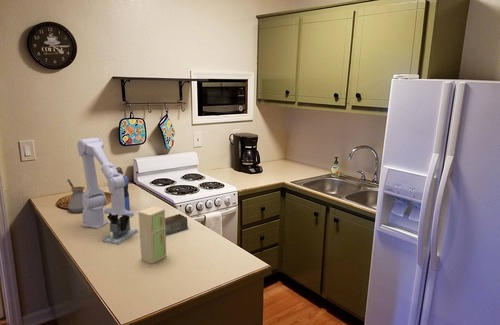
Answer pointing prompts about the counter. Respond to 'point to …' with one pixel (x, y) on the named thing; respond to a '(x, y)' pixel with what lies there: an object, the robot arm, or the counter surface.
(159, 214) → the toy refrigerator
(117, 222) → the block
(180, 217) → the beverage carton
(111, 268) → the counter surface
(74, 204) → the coffee pot
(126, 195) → the water bottle
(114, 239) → the tray
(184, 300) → the counter surface
